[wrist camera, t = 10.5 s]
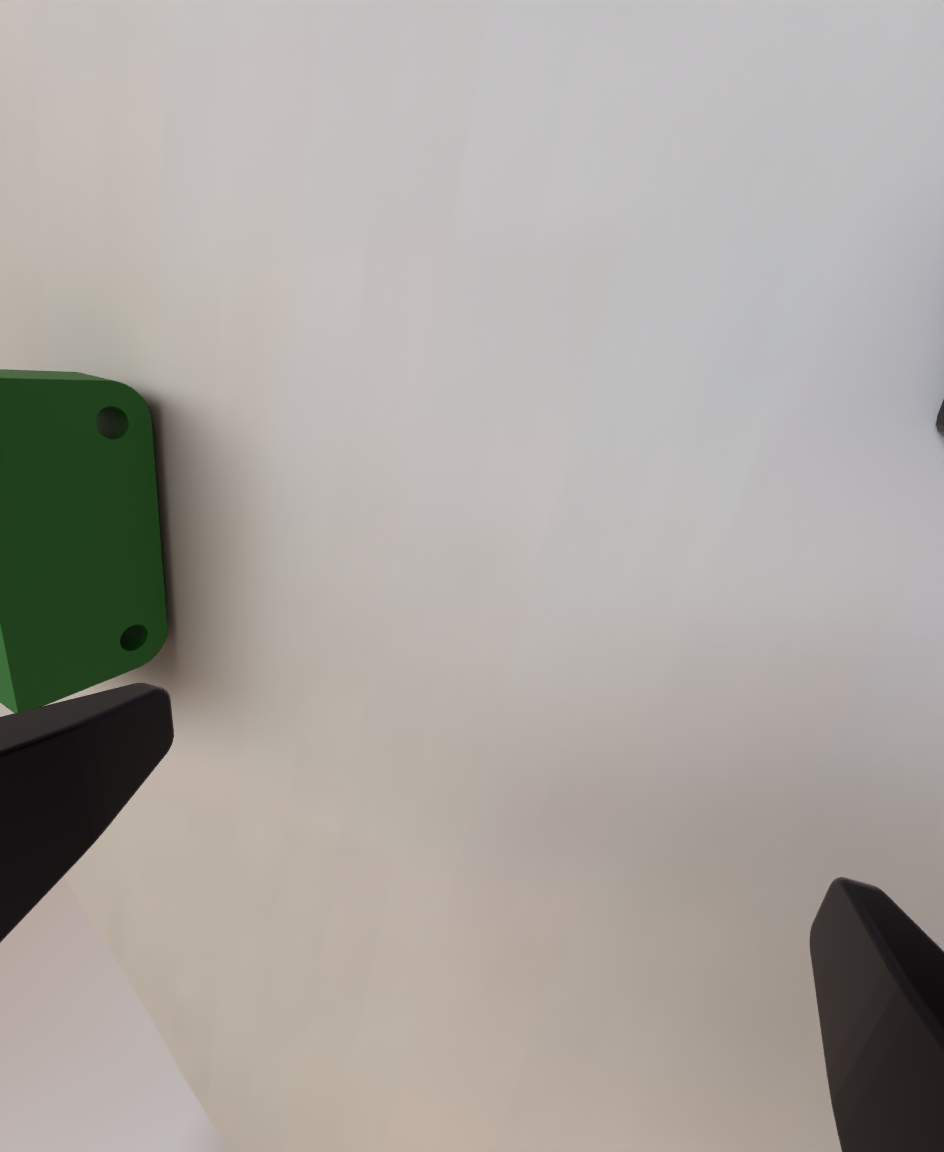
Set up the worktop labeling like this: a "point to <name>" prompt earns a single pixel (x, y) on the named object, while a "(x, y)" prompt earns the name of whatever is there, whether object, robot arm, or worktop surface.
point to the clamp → (75, 536)
